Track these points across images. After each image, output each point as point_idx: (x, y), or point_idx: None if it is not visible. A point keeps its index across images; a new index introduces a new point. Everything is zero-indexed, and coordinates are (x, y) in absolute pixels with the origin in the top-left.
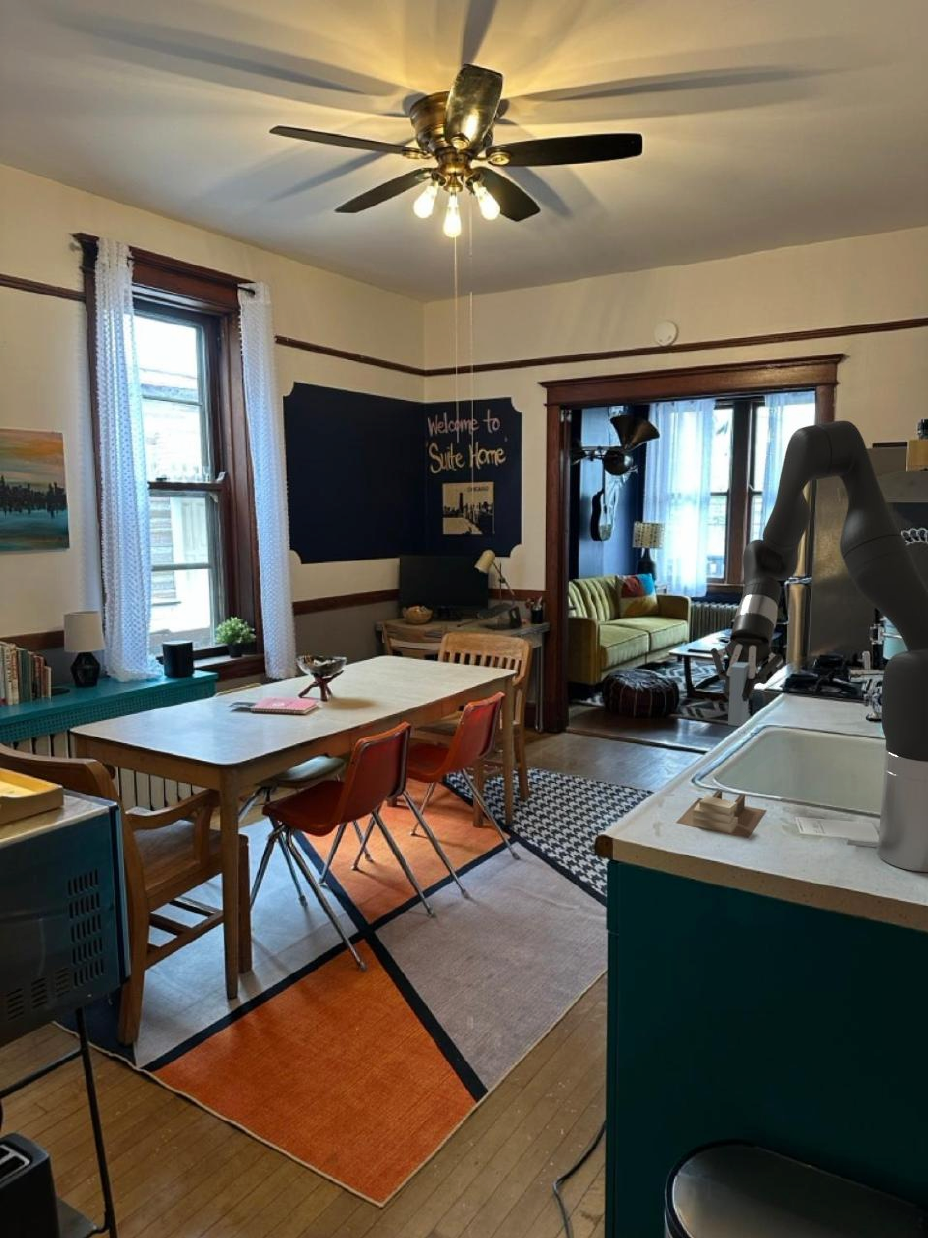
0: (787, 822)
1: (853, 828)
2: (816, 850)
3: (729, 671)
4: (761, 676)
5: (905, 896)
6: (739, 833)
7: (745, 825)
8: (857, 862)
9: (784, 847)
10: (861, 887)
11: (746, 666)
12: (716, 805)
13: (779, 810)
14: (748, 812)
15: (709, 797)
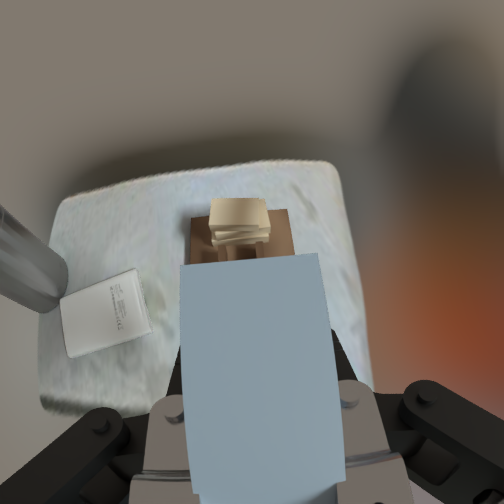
0: (161, 323)
1: (83, 323)
2: (121, 251)
3: (360, 413)
4: (105, 408)
5: (64, 205)
6: (204, 223)
7: (203, 253)
8: (86, 246)
9: (153, 237)
10: (90, 198)
11: (183, 385)
12: (232, 198)
13: None
14: None
15: (252, 219)
